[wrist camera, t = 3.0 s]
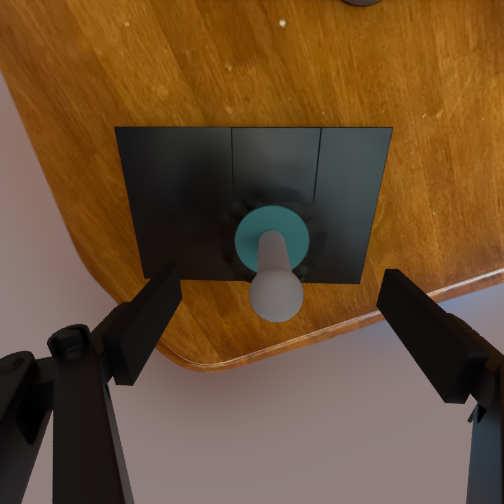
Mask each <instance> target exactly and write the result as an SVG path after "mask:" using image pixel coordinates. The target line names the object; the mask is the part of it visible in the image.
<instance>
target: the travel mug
mask: <svg viewBox="0 0 504 504" xmlns="http://www.w3.org/2000/svg"><path fill="white" fill-rule="evenodd" d="M345 1H347V2H349V3H351V4H354V5H361V6H362V5H370V4H373V3H376V2H379V1H381V0H345Z"/></svg>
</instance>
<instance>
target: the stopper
mask: <svg viewBox="0 0 504 504" xmlns="http://www.w3.org/2000/svg"><path fill="white" fill-rule="evenodd" d="M308 246H309V234H308V230H307V228H306V225H305V223H304V222H303V220H302V219H301V218H300V216H299V215H298V214H297V213H295V212H294V211H292V210H291V209H289V208H287V207H284V206H280V205H265V206H261V207H258V208H256V209H254V210H252V211H251V212H249V213H248V214H247V215H246V216H245V217H244V218H243V219H242V221H241V222H240V224H239V226H238V228H237V231H236V235H235V247H236V251H237V254H238V256H239V258H240V259H241V261H242V262H243V263H244V264H245V265H246V266H247V267H248V268H250V269H251V270H253V271H255V272H257V275H256V276H255V278H254V279H253V281H252V283H251V285H250V290H249V299H250V303H251V305H252V307H253V309H254V311H255V312H256V313H257V314H258V315H259V316H260V317H262V318H263V319H265V320H268V321H271V322H282V321H286V320H288V319H290V318H292V317H293V316H294V315H295V314H296V313H297V312H298V311H299V309H300V308H301V305H302V302H303V295H304V294H303V288H302V285H301V282H300V281H299V279H298V278H297V277H296V275H295V274H293V273H292V269H293V268H295V267H296V266H297V265H298V264H299V263H300V262H301V261H302V260H303V258H304V257H305V255H306V253H307V250H308Z"/></svg>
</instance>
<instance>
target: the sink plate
mask: <svg viewBox="0 0 504 504" xmlns="http://www.w3.org/2000/svg"><path fill="white" fill-rule="evenodd" d="M114 128H115V133H116V138H117V143H118V148H119V153H120V158H121V163H122V168H123V173H124V178H125V183H126V188H127V193H128V198H129V203H130V208H131V213H132V218H133V223H134V228H135V233H136V238H137V243H138V248H139V253H140V258H141V263H142V268H143V273H144V278H145V279H152V278H153V276H154V275H155V274H156V273H157V272H158V271H159V270H160V269H161V267H162V266H163V265H164V264H165V263H178V270H179V278H180V279H182V280H218V281H235V280H236V281H246V282H249V283H252V281H253V279H254V278H255V276H256V275H257V272H255V271H253V270H251V269H250V268H248V267H247V266H246V265H245V264H244V263H243V262H242V261H241V259H240V258H239V256H238V254H237V251H236V247H235V235H236V231H237V228H238V226H239V224H240V222H241V221H242V219H243V218H244V217H245V216H246V215H247V214H248V213H249V212H251V211H252V210H254V209H256V208H258V207H261V206H265V205H280V206H284V207H287V208H289V209H291V210H292V211H294V212H295V213H297V214H298V215H299V216H300V218H301V219H302V220H303V222H304V223H305V225H306V228H307V230H308V234H309V246H308V250H307V253H306V255H305V257H304V258H303V260H302V261H301V262H300V263H299V264H298V265H297V266H296V267H295V268H293V269H292V273H293V274H295V275H296V277H297V278H298V279H299V281H300V282H301V283H304V282H305V283H332V284H360V280H361V276H362V271H363V266H364V262H365V257H366V252H367V248H368V243H369V238H370V233H371V229H372V224H373V219H374V215H375V210H376V205H377V201H378V196H379V191H380V187H381V182H382V177H383V172H384V168H385V163H386V158H387V154H388V149H389V144H390V140H391V135H392V130H393V127H114Z"/></svg>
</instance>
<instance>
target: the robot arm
mask: <svg viewBox="0 0 504 504" xmlns="http://www.w3.org/2000/svg"><path fill="white" fill-rule="evenodd" d="M181 300H182V293H181V285H180V278H179V270H178V263H165V264H164V265H163V266H162V267H161V269H160V270H159V271H158V272H157V273H156V274H155V275H154V276H153V278H152V279H151V280H150V281H149V282H148V283H147V284H146V285H145V286H144V288H143V289H142V290H141V291H140V292H139V293H138V294H137V295H136V297H135V298H134V299H133V300H132V301H131V302H123V303H122V304H120V305H118V306H117V307H115V308H114V309H113V310H112V311H111V312H110V313H109V315H108V316H106V317H105V319H104V320H103V321H102V322H101V323H100V324H99V325H98V326H97V327H96V328H95V329H94V330H93V331H92V332H91V333H90V331H89V328H88V327H87V325H83V324H75V325H71V326H67V327H65V328H62V329H60V330H58V331H57V332H55V333H54V334H53V335H52V336H51V337H50V338H49V339H48V341H47V345H48V347H49V350H50V352H51V354H52V356H51V357H46V358H41V359H35V357H34V355H33V354H32V353H31V352H29V351H21V352H16V353H13V354H10V355H7V356H5V357H3V358H2V359H0V504H21V502H22V499H23V496H24V493H25V490H26V487H27V484H28V481H29V478H30V475H31V472H32V469H33V467H34V464H35V461H36V458H37V455H38V452H39V449H40V446H41V443H42V440H43V437H44V434H45V431H46V428H47V425H48V422H49V419H50V416H51V413H52V410H53V498H52V501H53V503H52V504H134V500H133V495H132V491H131V486H130V482H129V477H128V473H127V468H126V464H125V459H124V455H123V450H122V446H121V441H120V437H119V432H118V428H117V423H116V419H115V414H114V410H113V405H112V401H111V396H110V392H109V387H108V384H107V383H108V382H109V380H110V379H111V377H112V376H113V377H114V380H115V383H116V385H128V386H133V385H134V383H135V381H136V380H137V378H138V376H139V374H140V372H141V371H142V369H143V367H144V365H145V363H146V362H147V360H148V358H149V356H150V355H151V353H152V351H153V349H154V348H155V346H156V344H157V342H158V341H159V339H160V337H161V335H162V334H163V332H164V330H165V328H166V327H167V325H168V323H169V321H170V319H171V318H172V316H173V314H174V312H175V311H176V309H177V307H178V305H179V304H180V302H181ZM376 306H377V308H378V309H379V310H380V312H381V313H382V315H383V316H384V317H385V319H386V320H387V322H388V323H389V324H390V326H391V327H392V329H393V330H394V332H395V333H396V334H397V336H398V337H399V339H400V340H401V341H402V343H403V344H404V345H405V347H406V348H407V350H408V351H409V353H410V354H411V355H412V357H413V358H414V360H415V361H416V363H417V364H418V365H419V367H420V368H421V370H422V371H423V372H424V374H425V375H426V376H427V378H428V379H429V381H430V382H431V384H432V385H433V387H434V388H435V389H436V391H437V392H438V393H439V395H440V396H441V398H442V399H443V401H444V402H445V403H457V404H465V402H466V400H467V398H468V396H469V395H470V394H471V395H472V396H473V397H474V398H475V400H477V402H478V403H477V405H476V406H475V408H474V410H473V412H472V413H471V415H470V417H469V419H468V422H470V423H471V422H472V421H473V429H472V441H471V454H470V464H469V477H468V488H467V499H466V504H504V355H503V354H502V353H500V352H499V351H498V350H497V349H496V348H494V347H493V346H492V345H491V344H490V343H489V342H488V341H487V340H485V339H484V338H483V337H482V336H480V335H479V334H478V333H477V332H476V331H475V330H472V328H471V327H470V326H469V325H468V324H467V323H466V322H464V321H463V320H462V319H460V318H458V317H456V316H455V315H453V314H451V313H446V312H445V311H444V310H443V309H442V308H441V307H440V306H438V304H436V303H435V302H434V301H433V300H432V299H431V298H430V297H429V296H428V295H426V294H425V293H424V292H423V291H422V290H421V289H420V288H419V287H418V286H416V285H415V284H414V283H413V282H412V281H411V280H410V279H409V278H408V277H406V276H405V275H404V274H403V273H402V272H401V271H400V270H399V269H385V273H384V277H383V281H382V285H381V289H380V293H379V297H378V301H377V305H376Z"/></svg>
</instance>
